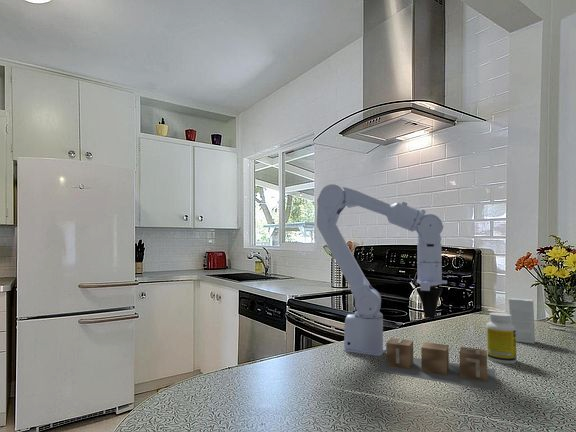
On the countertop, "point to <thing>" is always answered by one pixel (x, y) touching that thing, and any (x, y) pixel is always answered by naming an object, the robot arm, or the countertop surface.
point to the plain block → (435, 358)
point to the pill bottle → (501, 338)
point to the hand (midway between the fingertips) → (430, 317)
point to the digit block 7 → (473, 363)
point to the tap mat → (451, 376)
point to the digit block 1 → (399, 353)
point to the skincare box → (523, 319)
